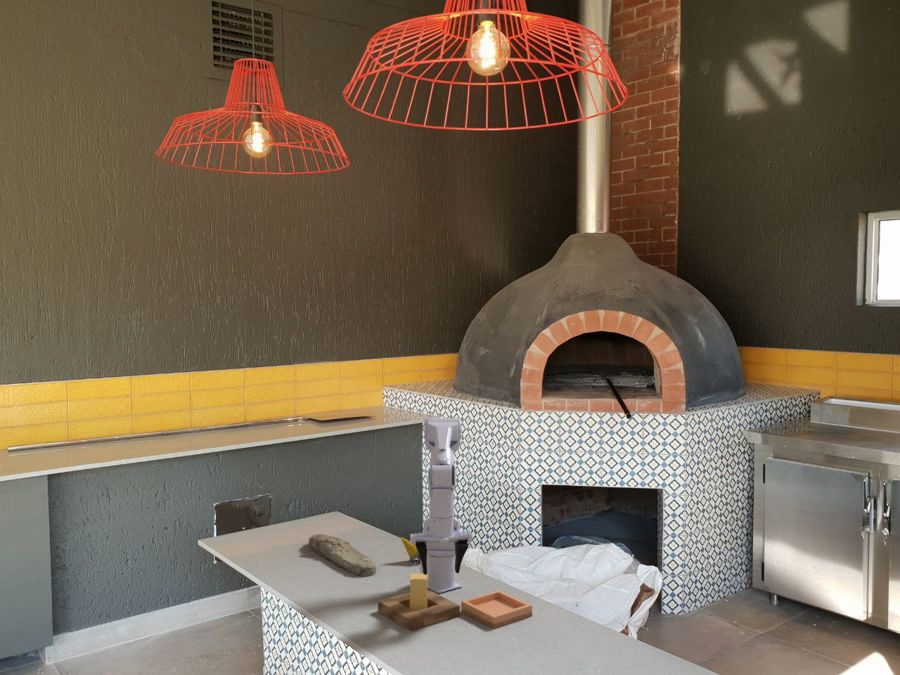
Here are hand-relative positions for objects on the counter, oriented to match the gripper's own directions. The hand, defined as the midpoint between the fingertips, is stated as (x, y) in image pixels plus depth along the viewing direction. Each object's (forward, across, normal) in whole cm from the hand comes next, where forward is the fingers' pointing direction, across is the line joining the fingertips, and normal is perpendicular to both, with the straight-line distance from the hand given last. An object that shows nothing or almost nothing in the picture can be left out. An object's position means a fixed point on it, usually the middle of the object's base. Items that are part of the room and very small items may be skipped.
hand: (441, 572), depth 177 cm
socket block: (+10, -5, +2) cm, 12 cm away
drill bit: (+11, -2, +39) cm, 40 cm away
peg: (+10, -5, +2) cm, 12 cm away
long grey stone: (+11, -22, +45) cm, 51 cm away
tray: (+10, +13, -1) cm, 17 cm away
